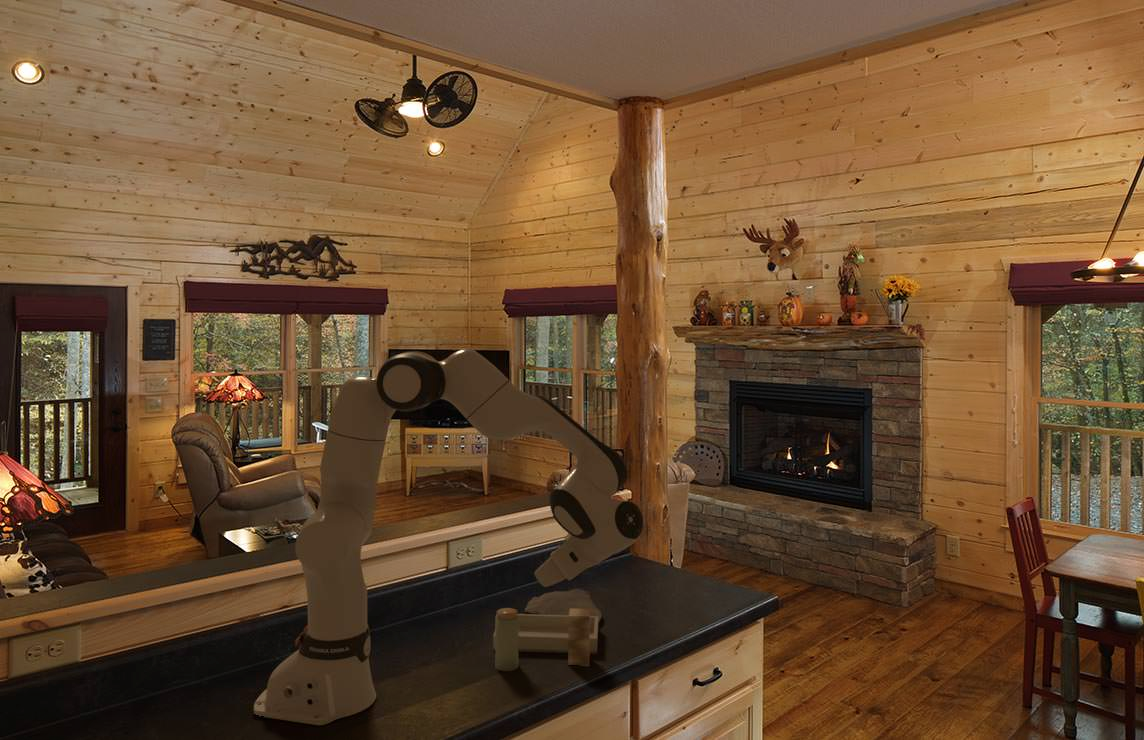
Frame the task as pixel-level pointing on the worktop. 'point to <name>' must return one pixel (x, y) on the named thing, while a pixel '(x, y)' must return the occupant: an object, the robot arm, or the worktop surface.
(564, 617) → the beige tray
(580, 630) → the birch block
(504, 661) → the sage jar
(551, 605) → the stone tool
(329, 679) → the robot arm
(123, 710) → the worktop surface
